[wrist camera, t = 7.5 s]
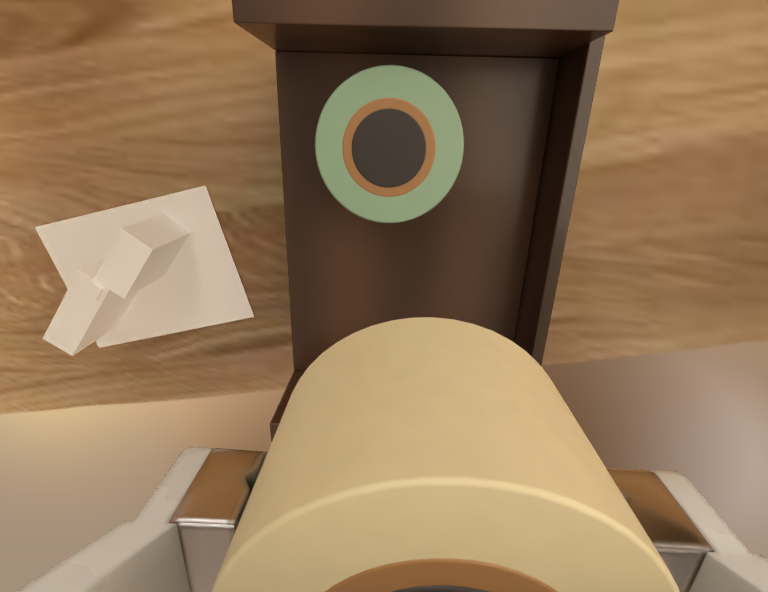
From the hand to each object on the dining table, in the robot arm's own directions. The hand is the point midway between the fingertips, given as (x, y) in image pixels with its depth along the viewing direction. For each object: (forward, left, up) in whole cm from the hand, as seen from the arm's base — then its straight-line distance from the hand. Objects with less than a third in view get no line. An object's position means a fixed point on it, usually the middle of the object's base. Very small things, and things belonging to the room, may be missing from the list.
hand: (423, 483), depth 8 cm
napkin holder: (-21, -5, -26) cm, 34 cm away
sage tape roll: (-1, +6, -16) cm, 17 cm away
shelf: (0, +1, -25) cm, 26 cm away
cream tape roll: (0, 0, -1) cm, 1 cm away
